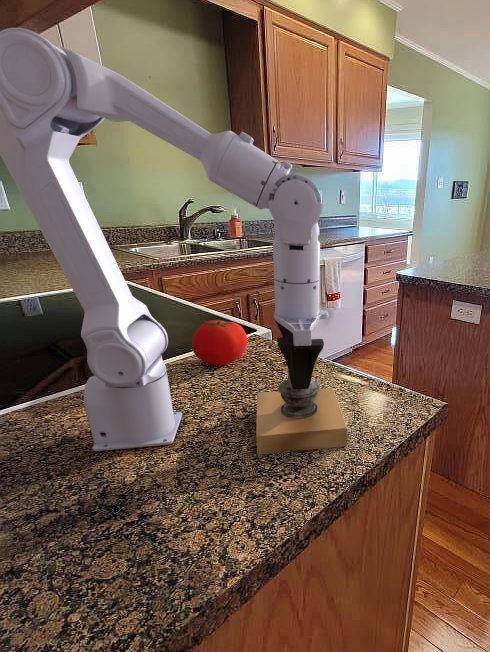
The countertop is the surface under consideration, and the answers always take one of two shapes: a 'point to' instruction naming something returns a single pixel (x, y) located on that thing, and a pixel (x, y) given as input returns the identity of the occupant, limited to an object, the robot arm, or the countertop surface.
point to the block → (299, 425)
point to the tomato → (219, 342)
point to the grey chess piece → (298, 399)
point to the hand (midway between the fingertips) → (298, 375)
